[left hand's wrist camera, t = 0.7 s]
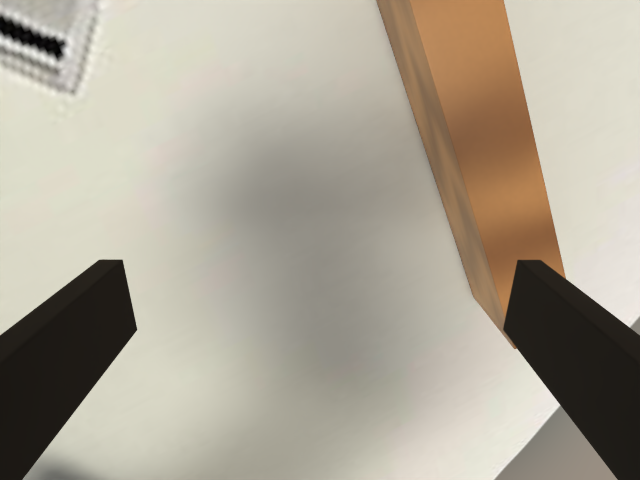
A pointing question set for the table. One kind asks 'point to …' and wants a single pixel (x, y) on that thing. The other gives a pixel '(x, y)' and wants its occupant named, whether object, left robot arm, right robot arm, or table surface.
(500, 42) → the bar
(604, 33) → the table surface
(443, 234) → the table surface
